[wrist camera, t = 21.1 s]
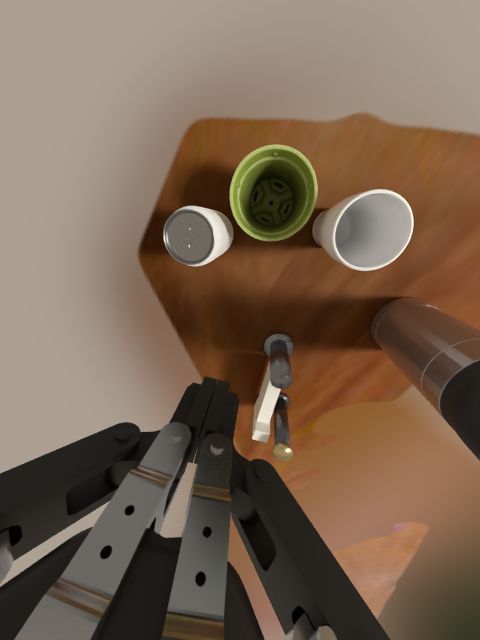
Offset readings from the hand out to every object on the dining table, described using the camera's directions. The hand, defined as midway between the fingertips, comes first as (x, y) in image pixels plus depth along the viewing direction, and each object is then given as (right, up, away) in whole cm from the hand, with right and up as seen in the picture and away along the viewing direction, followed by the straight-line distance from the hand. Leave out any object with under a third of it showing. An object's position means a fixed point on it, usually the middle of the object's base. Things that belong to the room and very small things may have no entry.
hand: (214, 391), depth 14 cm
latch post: (+9, -11, +33) cm, 36 cm away
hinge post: (+8, 0, +28) cm, 30 cm away
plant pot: (+6, +21, +20) cm, 30 cm away
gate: (+7, -8, +29) cm, 31 cm away
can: (-3, +17, +23) cm, 29 cm away
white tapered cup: (+14, +17, +21) cm, 31 cm away
